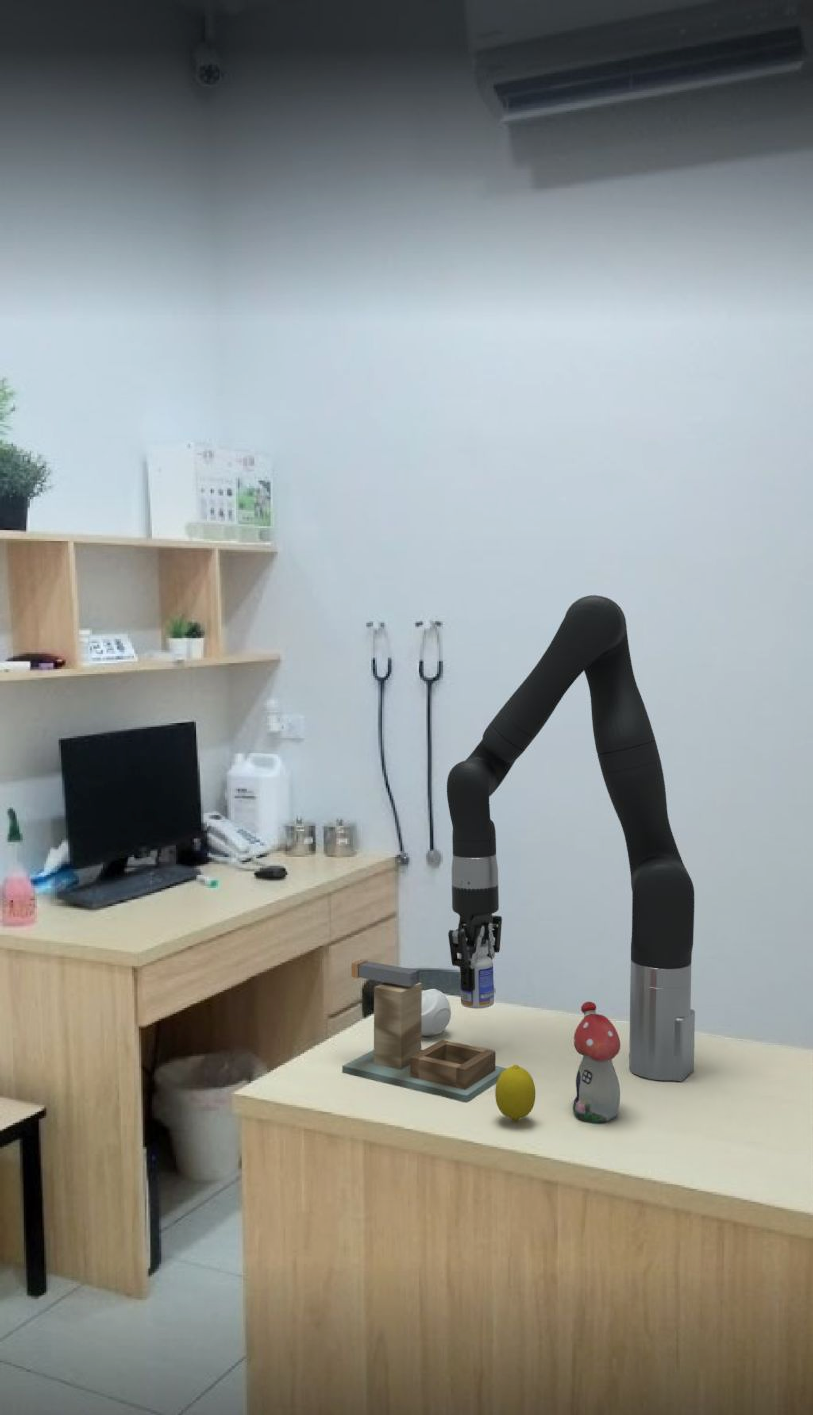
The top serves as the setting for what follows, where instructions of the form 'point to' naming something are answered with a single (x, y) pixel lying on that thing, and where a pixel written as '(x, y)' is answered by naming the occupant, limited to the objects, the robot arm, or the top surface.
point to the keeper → (385, 973)
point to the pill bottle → (480, 982)
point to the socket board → (420, 1051)
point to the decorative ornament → (596, 1067)
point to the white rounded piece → (434, 1012)
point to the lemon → (515, 1093)
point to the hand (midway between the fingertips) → (477, 985)
